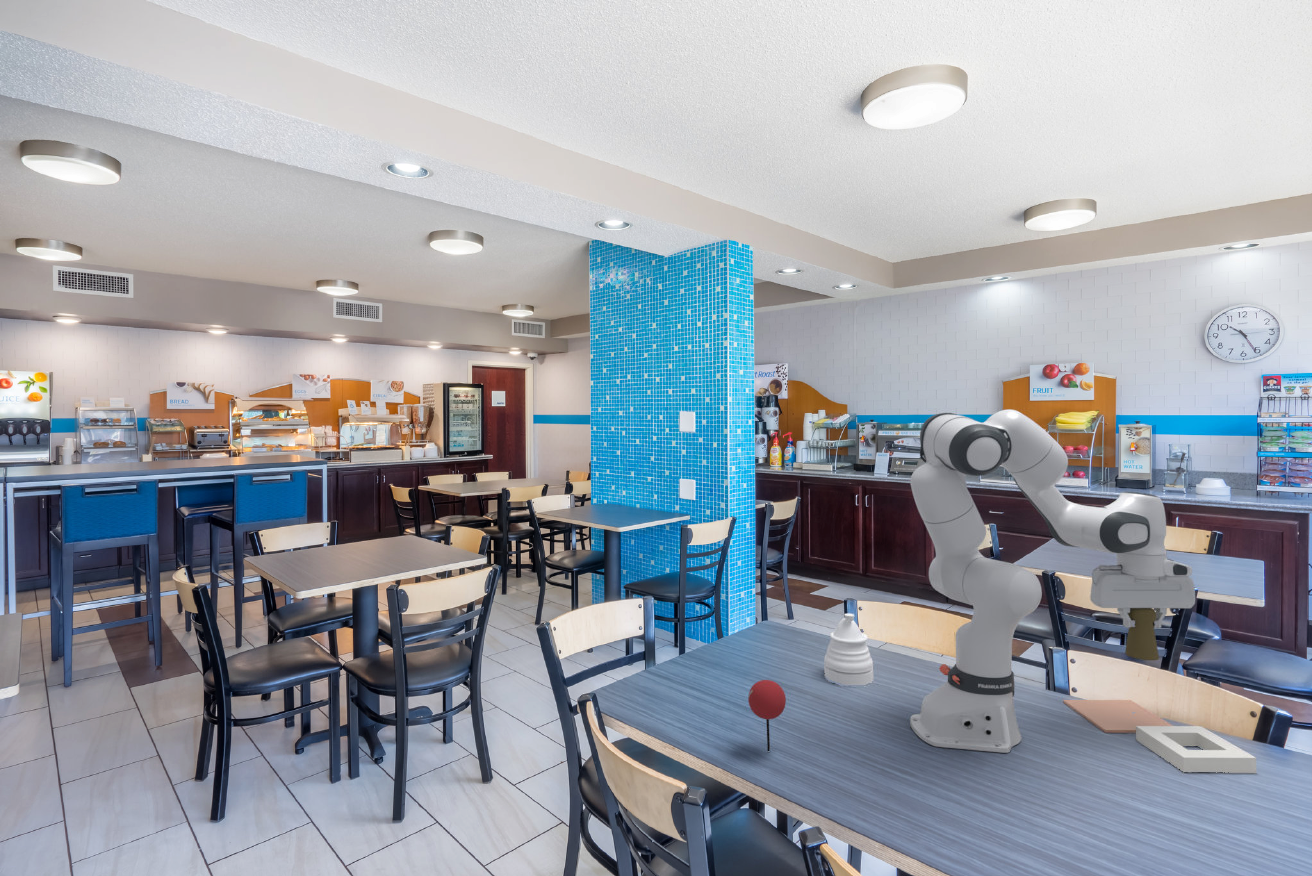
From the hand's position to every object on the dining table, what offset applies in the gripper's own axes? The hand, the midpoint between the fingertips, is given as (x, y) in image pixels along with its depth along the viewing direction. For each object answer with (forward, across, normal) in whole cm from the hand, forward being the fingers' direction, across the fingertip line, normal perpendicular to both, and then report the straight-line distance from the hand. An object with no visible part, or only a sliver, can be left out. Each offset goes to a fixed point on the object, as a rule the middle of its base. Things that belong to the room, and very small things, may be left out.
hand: (1142, 627), depth 141 cm
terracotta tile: (+23, -1, +7) cm, 24 cm away
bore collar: (+23, +2, -11) cm, 26 cm away
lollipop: (+24, -84, -11) cm, 88 cm away
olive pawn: (+7, 0, 0) cm, 7 cm away
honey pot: (+24, -57, +30) cm, 69 cm away
